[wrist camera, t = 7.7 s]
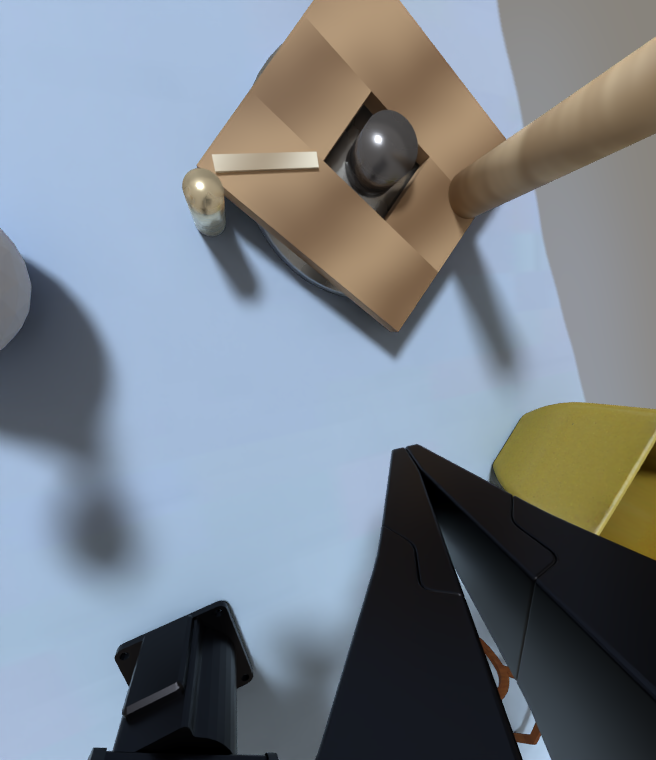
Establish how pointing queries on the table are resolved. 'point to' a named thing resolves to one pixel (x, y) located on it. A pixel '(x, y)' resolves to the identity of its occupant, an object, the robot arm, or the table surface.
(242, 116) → the flange plate
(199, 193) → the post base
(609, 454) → the flower pot
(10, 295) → the perfume bottle
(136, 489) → the table surface
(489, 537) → the robot arm
